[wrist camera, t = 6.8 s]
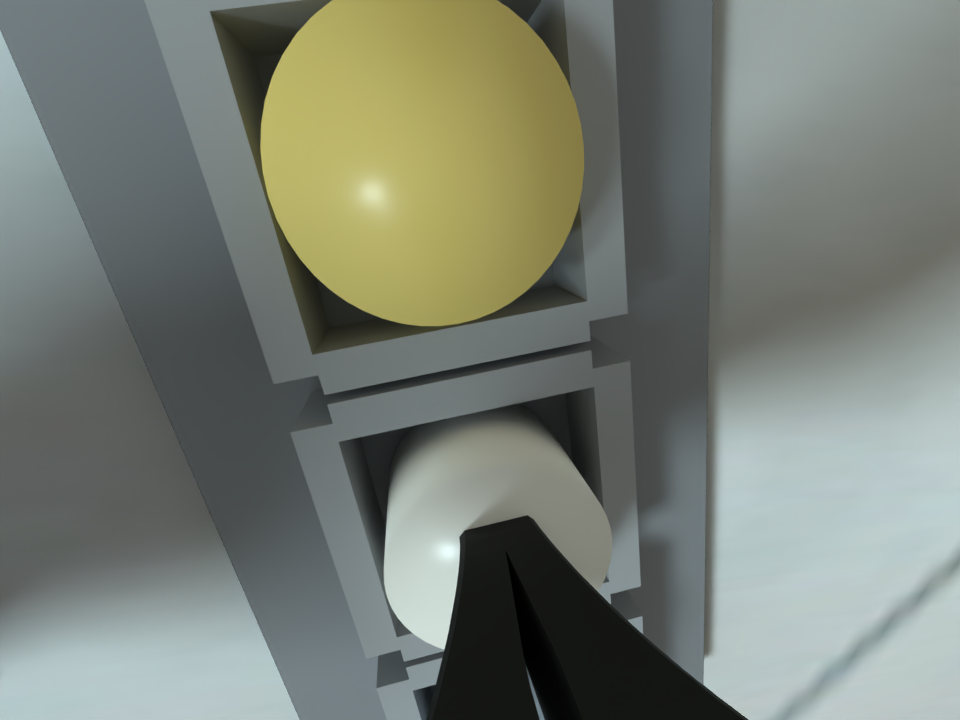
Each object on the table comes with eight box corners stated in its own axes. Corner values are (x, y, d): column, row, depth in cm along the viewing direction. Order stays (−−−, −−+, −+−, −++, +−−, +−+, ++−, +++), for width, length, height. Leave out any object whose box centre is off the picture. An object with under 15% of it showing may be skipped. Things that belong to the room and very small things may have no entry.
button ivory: (409, 567, 12) (411, 678, 9) (370, 419, 10) (356, 496, 8) (569, 528, 12) (618, 622, 9) (552, 380, 11) (605, 439, 8)
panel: (339, 765, 16) (324, 886, 13) (30, 15, 8) (-161, -87, 5) (686, 665, 17) (743, 756, 14) (683, -59, 10) (799, -173, 7)
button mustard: (341, 310, 10) (314, 351, 7) (277, 73, 8) (208, -3, 5) (540, 273, 10) (594, 297, 7) (514, 41, 8) (569, -43, 6)
